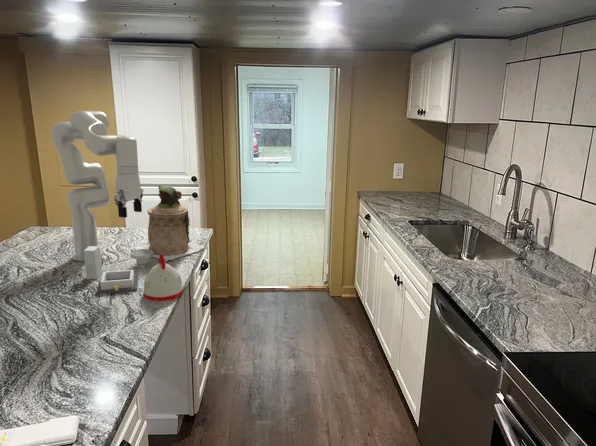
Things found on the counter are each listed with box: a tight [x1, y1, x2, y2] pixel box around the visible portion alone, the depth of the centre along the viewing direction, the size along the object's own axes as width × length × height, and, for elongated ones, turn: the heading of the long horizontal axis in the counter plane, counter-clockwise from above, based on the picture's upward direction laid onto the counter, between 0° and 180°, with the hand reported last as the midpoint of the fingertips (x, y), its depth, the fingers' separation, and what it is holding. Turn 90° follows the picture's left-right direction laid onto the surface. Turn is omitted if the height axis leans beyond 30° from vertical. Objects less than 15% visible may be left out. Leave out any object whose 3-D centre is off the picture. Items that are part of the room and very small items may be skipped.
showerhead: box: [129, 248, 153, 268], centre depth 189 cm, size 9×7×10 cm
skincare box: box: [84, 245, 103, 280], centre depth 176 cm, size 6×4×12 cm
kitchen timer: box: [143, 255, 184, 302], centre depth 162 cm, size 14×14×15 cm
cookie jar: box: [132, 184, 205, 263], centre depth 208 cm, size 25×25×32 cm
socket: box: [95, 269, 139, 295], centre depth 169 cm, size 15×14×4 cm
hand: (130, 214), depth 170 cm, fingers open, 9 cm apart
